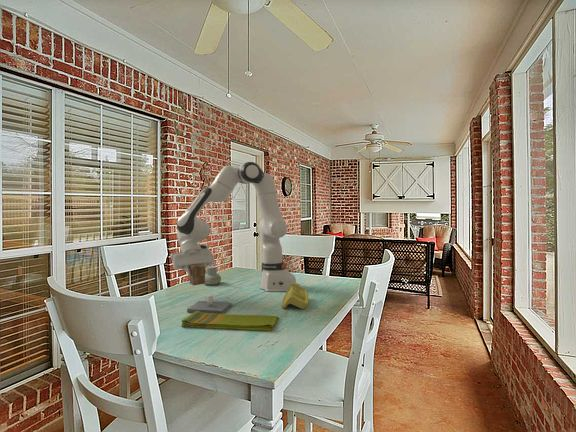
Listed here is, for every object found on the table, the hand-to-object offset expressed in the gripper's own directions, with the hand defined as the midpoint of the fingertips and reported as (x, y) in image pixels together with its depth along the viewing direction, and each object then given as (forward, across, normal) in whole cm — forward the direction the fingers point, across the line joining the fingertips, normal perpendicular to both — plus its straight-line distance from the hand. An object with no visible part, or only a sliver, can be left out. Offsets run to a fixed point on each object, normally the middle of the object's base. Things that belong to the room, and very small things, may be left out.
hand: (197, 273), depth 163 cm
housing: (+3, 0, +4) cm, 5 cm away
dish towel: (+36, +1, -16) cm, 40 cm away
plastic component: (+32, +37, -12) cm, 50 cm away
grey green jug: (-10, +17, +29) cm, 36 cm away
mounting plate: (+21, 0, -2) cm, 21 cm away
